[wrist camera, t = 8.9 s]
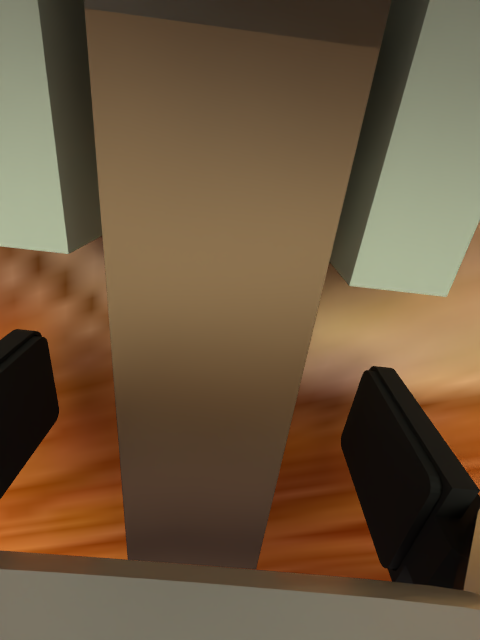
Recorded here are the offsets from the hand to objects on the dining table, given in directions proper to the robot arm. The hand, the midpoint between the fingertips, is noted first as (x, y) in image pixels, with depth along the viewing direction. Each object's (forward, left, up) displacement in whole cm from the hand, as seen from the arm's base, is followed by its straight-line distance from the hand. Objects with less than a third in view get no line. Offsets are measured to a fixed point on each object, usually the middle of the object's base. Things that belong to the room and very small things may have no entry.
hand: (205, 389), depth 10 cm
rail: (0, -2, -3) cm, 3 cm away
